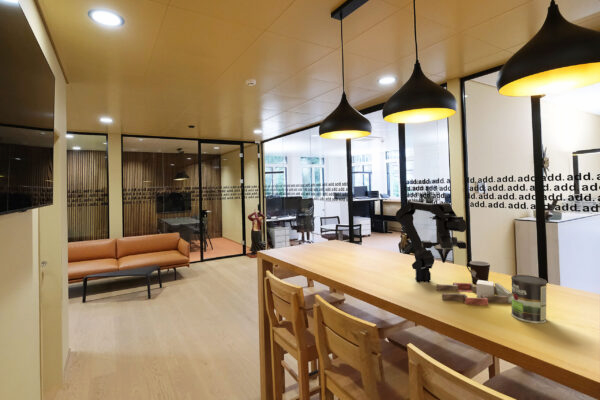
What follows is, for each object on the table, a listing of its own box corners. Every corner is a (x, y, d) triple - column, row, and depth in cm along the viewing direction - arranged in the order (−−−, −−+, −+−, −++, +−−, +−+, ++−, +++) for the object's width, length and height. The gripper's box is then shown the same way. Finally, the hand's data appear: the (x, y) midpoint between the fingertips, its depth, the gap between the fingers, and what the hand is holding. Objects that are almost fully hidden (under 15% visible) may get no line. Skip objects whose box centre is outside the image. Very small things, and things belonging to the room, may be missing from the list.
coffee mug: (493, 286, 144) (493, 265, 144) (473, 286, 146) (473, 265, 145) (483, 279, 155) (483, 259, 155) (465, 278, 157) (465, 259, 157)
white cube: (493, 295, 133) (493, 281, 133) (493, 299, 128) (493, 285, 128) (478, 293, 137) (477, 279, 136) (476, 297, 132) (476, 283, 132)
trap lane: (444, 303, 126) (444, 293, 126) (434, 287, 146) (434, 278, 146) (516, 306, 120) (516, 296, 120) (495, 289, 140) (495, 280, 140)
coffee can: (527, 324, 105) (527, 284, 105) (504, 312, 115) (504, 275, 115) (554, 322, 106) (554, 282, 105) (530, 310, 116) (529, 274, 116)
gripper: (424, 232, 138) (425, 266, 139) (470, 232, 134) (470, 267, 134) (420, 228, 149) (421, 260, 149) (462, 228, 145) (463, 261, 145)
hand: (443, 262), depth 144 cm, fingers closed
